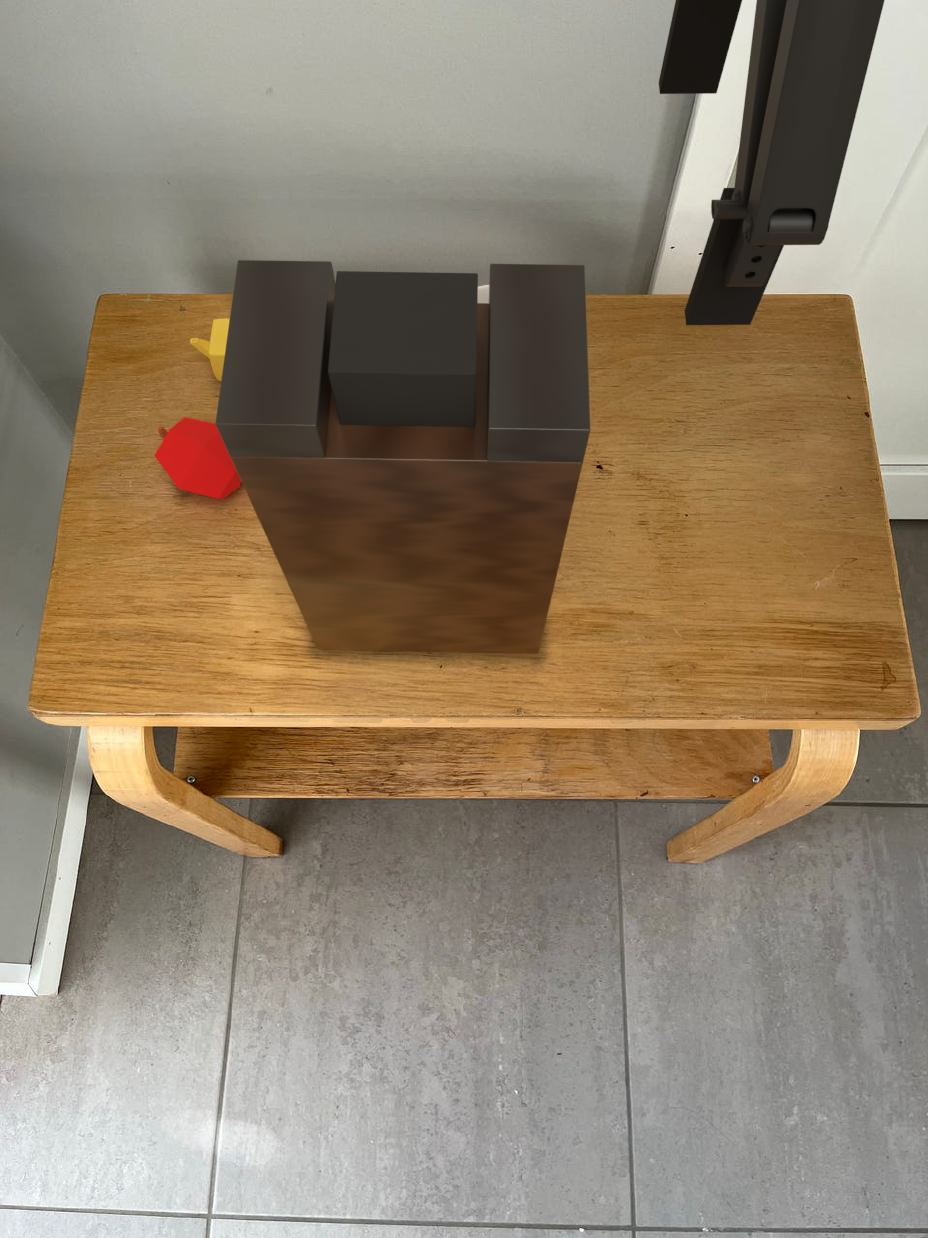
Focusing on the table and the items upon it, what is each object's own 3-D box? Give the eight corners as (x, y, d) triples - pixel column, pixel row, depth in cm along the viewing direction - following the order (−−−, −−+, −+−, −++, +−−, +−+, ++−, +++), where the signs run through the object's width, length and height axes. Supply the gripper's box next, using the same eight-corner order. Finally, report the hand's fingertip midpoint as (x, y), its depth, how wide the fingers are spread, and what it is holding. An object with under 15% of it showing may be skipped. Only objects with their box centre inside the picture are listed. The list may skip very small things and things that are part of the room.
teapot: (197, 399, 83) (181, 363, 78) (205, 346, 85) (189, 309, 80) (285, 400, 83) (274, 365, 78) (290, 348, 85) (280, 310, 80)
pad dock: (537, 543, 78) (584, 264, 47) (538, 654, 74) (590, 430, 44) (326, 539, 78) (237, 258, 47) (317, 650, 75) (214, 424, 44)
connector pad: (476, 332, 49) (477, 272, 45) (475, 427, 47) (476, 374, 43) (347, 329, 49) (336, 270, 45) (339, 425, 47) (327, 371, 43)
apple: (263, 444, 75) (179, 386, 74) (215, 512, 74) (130, 454, 73) (264, 459, 82) (187, 405, 81) (220, 521, 81) (142, 468, 80)
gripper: (700, -728, 26) (602, 7, 46) (833, -205, 17) (638, 432, 37) (964, -732, 26) (751, 6, 46) (1240, -210, 17) (825, 431, 37)
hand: (701, 196), depth 41 cm, fingers open, 13 cm apart
